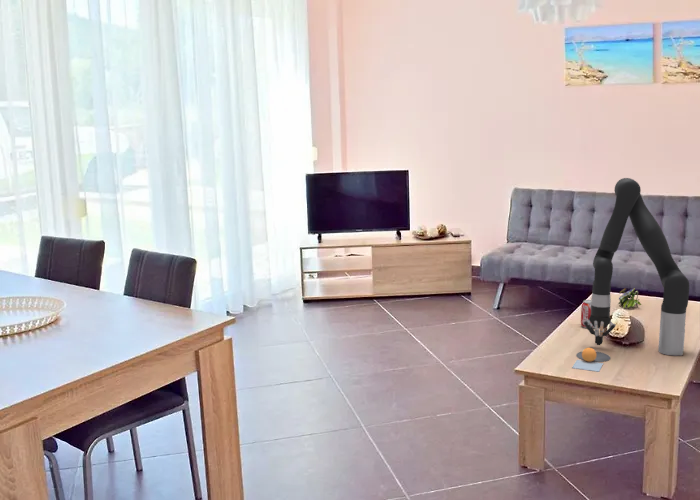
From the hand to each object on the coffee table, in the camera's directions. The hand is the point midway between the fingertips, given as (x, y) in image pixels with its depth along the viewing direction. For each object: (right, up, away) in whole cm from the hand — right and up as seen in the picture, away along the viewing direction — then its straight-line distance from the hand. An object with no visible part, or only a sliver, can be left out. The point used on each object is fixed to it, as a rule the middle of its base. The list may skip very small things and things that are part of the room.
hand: (598, 344), depth 305 cm
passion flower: (+37, +11, +62) cm, 73 cm away
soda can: (+6, +4, +30) cm, 30 cm away
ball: (-9, -2, -16) cm, 19 cm away
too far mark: (-11, -6, -21) cm, 24 cm away
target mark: (-6, -4, -10) cm, 12 cm away
